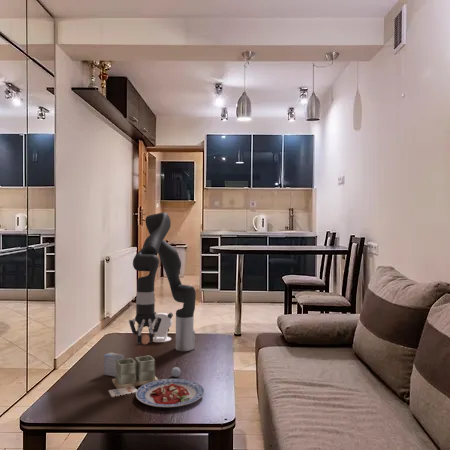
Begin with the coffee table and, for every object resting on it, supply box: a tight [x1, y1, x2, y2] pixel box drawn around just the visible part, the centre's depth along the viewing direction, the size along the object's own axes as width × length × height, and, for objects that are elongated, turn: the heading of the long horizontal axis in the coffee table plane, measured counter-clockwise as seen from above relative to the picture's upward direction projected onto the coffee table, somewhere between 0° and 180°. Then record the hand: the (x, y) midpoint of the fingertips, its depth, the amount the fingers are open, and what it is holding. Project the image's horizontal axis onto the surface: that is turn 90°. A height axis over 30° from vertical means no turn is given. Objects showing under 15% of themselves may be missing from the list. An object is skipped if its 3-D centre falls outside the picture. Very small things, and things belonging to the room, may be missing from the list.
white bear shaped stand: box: [152, 311, 174, 343], centre depth 235 cm, size 12×11×15 cm
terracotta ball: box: [141, 334, 150, 345], centre depth 174 cm, size 4×4×4 cm
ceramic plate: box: [135, 378, 205, 408], centre depth 158 cm, size 26×26×3 cm
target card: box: [108, 386, 138, 398], centre depth 162 cm, size 10×6×1 cm, turn 117°
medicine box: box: [103, 352, 125, 378], centre depth 180 cm, size 8×4×9 cm, turn 65°
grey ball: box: [170, 366, 182, 378], centre depth 179 cm, size 4×4×4 cm
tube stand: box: [111, 355, 159, 389], centre depth 173 cm, size 17×9×9 cm, turn 117°
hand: (144, 343), depth 174 cm, fingers closed on terracotta ball, 4 cm apart
